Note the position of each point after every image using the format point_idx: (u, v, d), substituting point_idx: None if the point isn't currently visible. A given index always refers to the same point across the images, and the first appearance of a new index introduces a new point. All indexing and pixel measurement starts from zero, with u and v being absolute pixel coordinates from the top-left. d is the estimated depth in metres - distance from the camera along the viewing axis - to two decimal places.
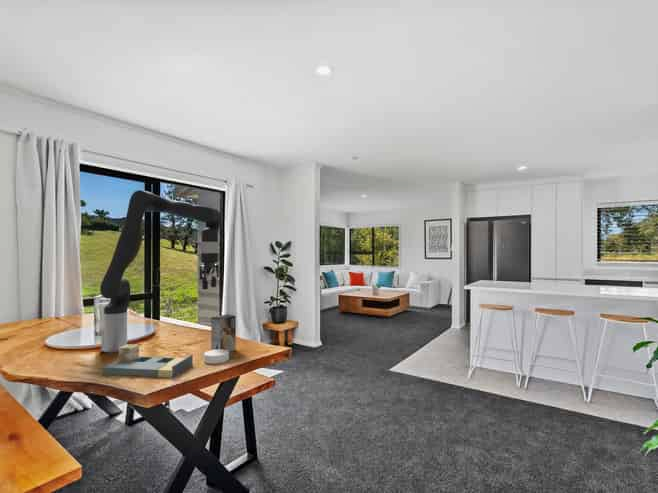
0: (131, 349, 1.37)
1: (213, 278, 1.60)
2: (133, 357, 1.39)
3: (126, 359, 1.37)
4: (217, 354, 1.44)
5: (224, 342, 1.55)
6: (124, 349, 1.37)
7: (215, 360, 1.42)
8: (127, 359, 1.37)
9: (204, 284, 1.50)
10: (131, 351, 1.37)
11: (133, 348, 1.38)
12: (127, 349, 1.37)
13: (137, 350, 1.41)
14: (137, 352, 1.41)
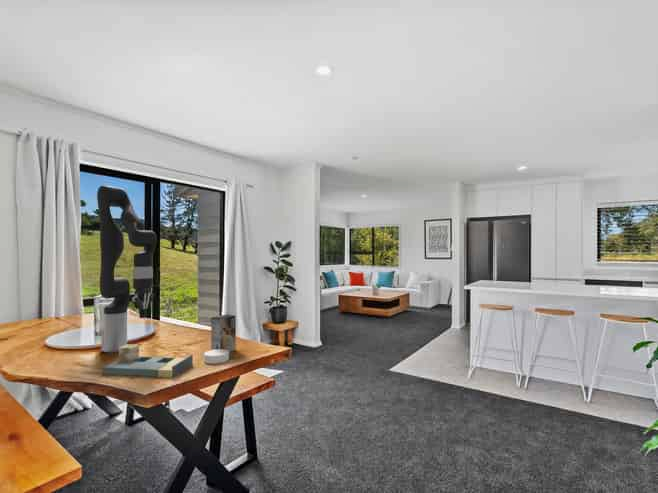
0: (131, 349, 1.37)
1: None
2: (133, 357, 1.39)
3: (126, 359, 1.37)
4: (217, 354, 1.44)
5: (224, 342, 1.55)
6: (124, 349, 1.37)
7: (215, 360, 1.42)
8: (127, 359, 1.37)
9: (141, 313, 1.47)
10: (131, 351, 1.37)
11: (133, 348, 1.38)
12: (127, 349, 1.37)
13: (137, 350, 1.41)
14: (137, 352, 1.41)
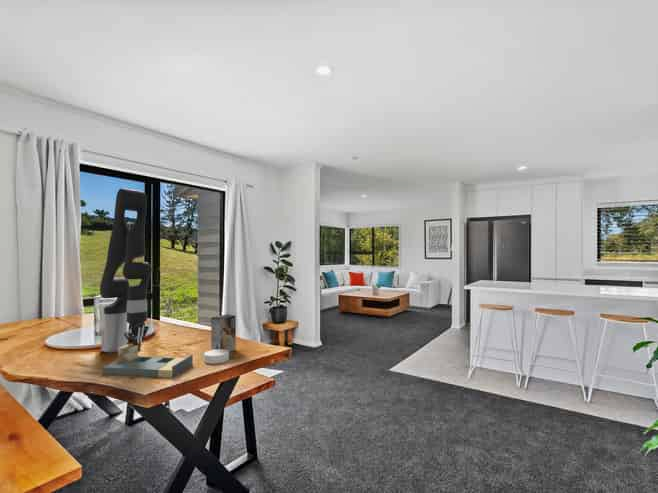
0: (130, 349, 1.37)
1: None
2: (132, 357, 1.38)
3: (125, 359, 1.37)
4: (217, 354, 1.44)
5: (224, 342, 1.55)
6: (123, 349, 1.37)
7: (215, 360, 1.42)
8: (126, 359, 1.37)
9: None
10: (131, 351, 1.37)
11: (132, 348, 1.38)
12: (126, 349, 1.37)
13: (136, 350, 1.41)
14: (136, 353, 1.41)
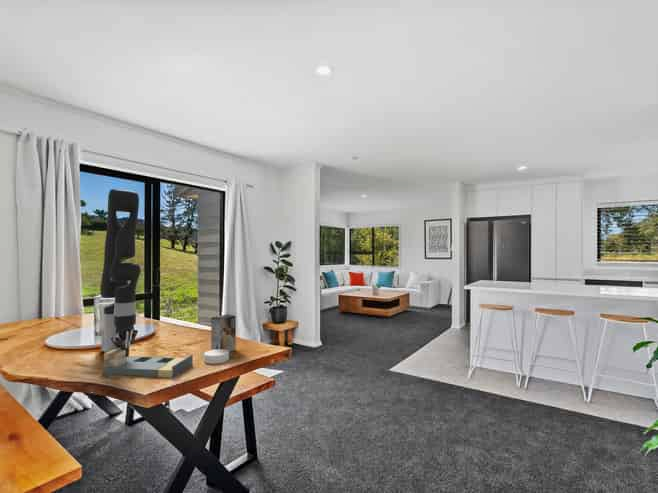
0: (117, 355, 1.30)
1: None
2: (119, 363, 1.31)
3: (112, 365, 1.30)
4: (217, 354, 1.44)
5: (224, 342, 1.55)
6: (109, 355, 1.30)
7: (215, 360, 1.42)
8: (113, 365, 1.30)
9: None
10: (117, 356, 1.30)
11: (119, 353, 1.31)
12: (113, 355, 1.30)
13: (124, 355, 1.34)
14: (124, 358, 1.34)
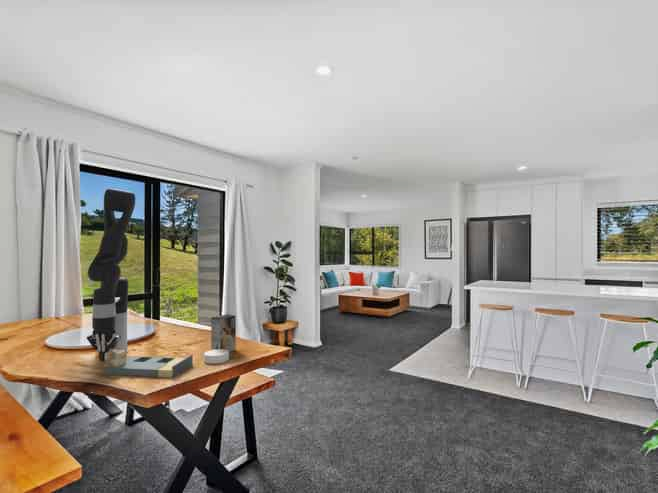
0: (118, 355, 1.30)
1: None
2: (120, 363, 1.31)
3: (112, 365, 1.30)
4: (217, 354, 1.44)
5: (224, 342, 1.55)
6: (110, 355, 1.30)
7: (215, 360, 1.42)
8: (113, 365, 1.30)
9: None
10: (118, 357, 1.30)
11: (120, 354, 1.31)
12: (113, 355, 1.30)
13: (124, 356, 1.34)
14: (125, 358, 1.34)
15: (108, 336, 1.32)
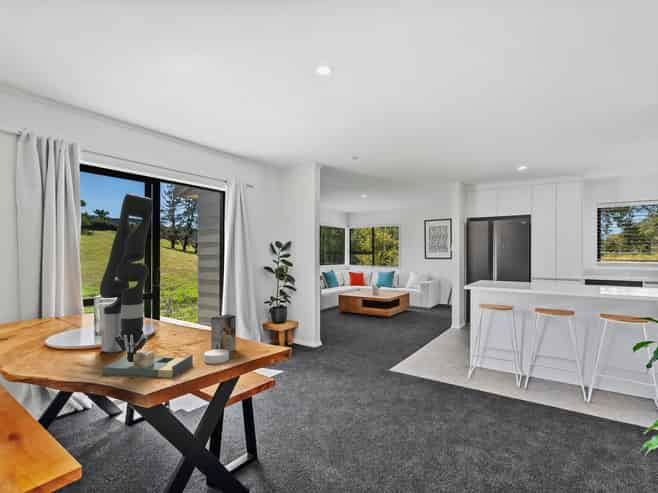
0: (146, 356, 1.29)
1: None
2: (148, 364, 1.30)
3: (141, 367, 1.28)
4: (217, 354, 1.44)
5: (224, 342, 1.55)
6: (139, 356, 1.28)
7: (215, 360, 1.42)
8: (142, 367, 1.28)
9: None
10: (147, 358, 1.29)
11: (148, 355, 1.30)
12: (142, 356, 1.28)
13: (152, 357, 1.32)
14: (153, 359, 1.32)
15: (136, 337, 1.30)
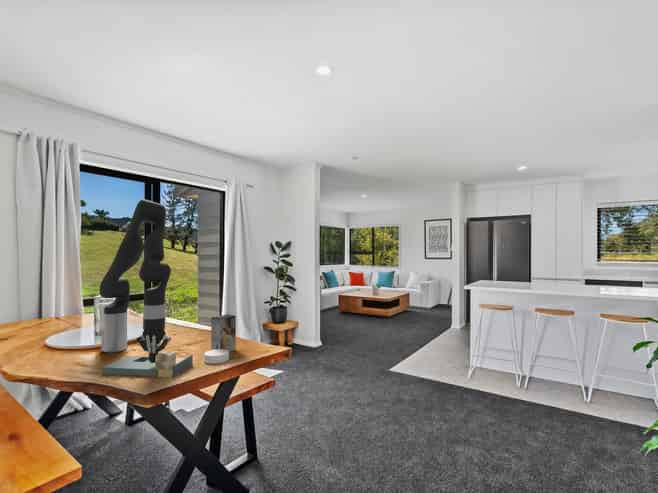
0: (169, 357, 1.28)
1: None
2: (170, 365, 1.29)
3: (163, 368, 1.27)
4: (217, 354, 1.44)
5: (224, 342, 1.55)
6: (161, 357, 1.28)
7: (215, 360, 1.42)
8: (164, 368, 1.27)
9: None
10: (169, 359, 1.28)
11: (170, 356, 1.29)
12: (164, 357, 1.27)
13: (174, 358, 1.31)
14: (174, 360, 1.32)
15: (159, 337, 1.29)
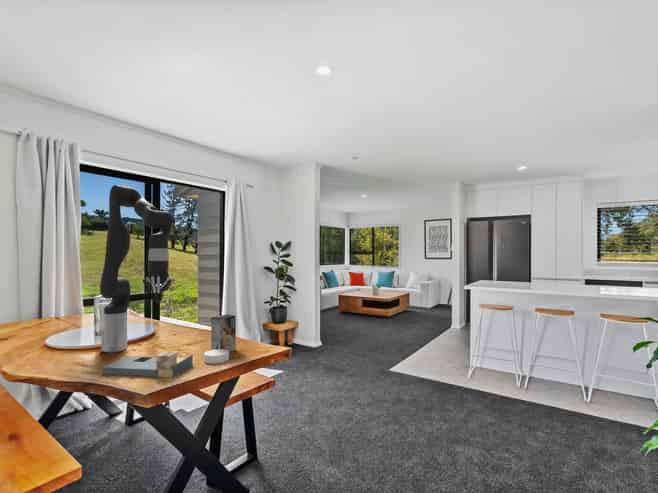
0: (170, 357, 1.28)
1: None
2: (171, 365, 1.29)
3: (164, 368, 1.27)
4: (217, 354, 1.44)
5: (224, 342, 1.55)
6: (162, 357, 1.28)
7: (215, 360, 1.42)
8: (165, 368, 1.27)
9: None
10: (170, 359, 1.28)
11: (171, 356, 1.29)
12: (165, 357, 1.27)
13: (175, 358, 1.31)
14: (175, 360, 1.31)
15: (163, 278, 1.41)
